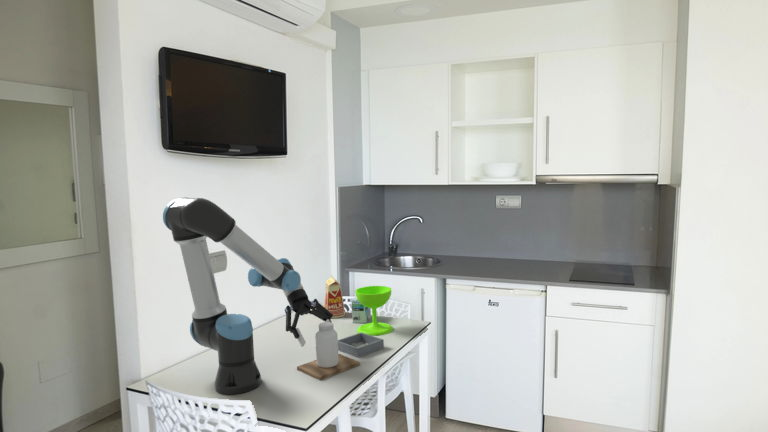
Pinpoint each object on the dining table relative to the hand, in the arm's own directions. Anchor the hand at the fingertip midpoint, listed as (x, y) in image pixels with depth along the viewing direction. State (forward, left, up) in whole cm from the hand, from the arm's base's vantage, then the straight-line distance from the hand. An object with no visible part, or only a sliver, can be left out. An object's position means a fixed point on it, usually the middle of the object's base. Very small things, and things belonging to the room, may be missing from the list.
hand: (319, 340), depth 192 cm
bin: (+19, 0, -9) cm, 21 cm away
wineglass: (+39, +13, -9) cm, 42 cm away
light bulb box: (+45, +29, -9) cm, 55 cm away
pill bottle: (-1, -6, -8) cm, 10 cm away
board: (-1, -6, -9) cm, 11 cm away
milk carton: (+41, +45, -9) cm, 62 cm away
